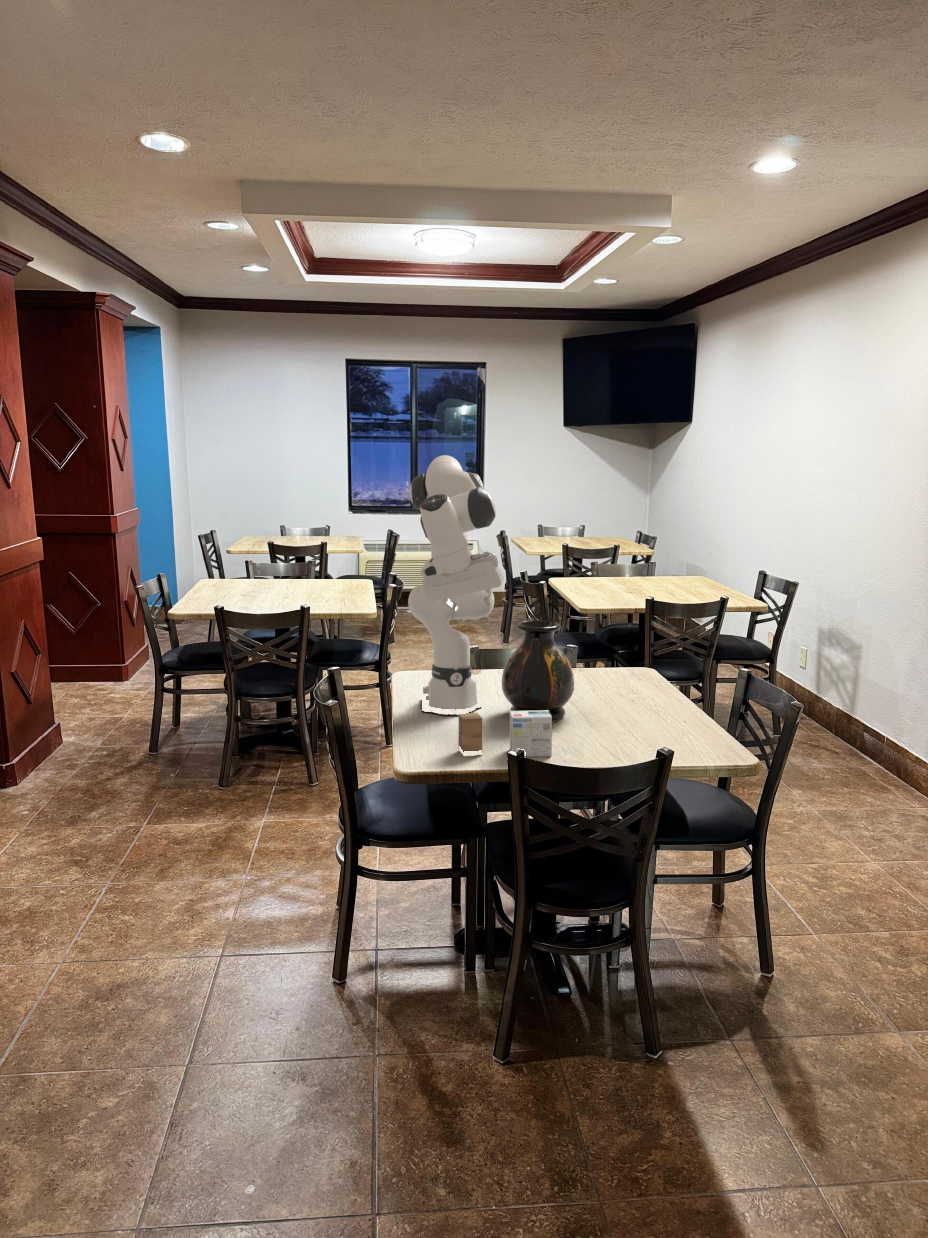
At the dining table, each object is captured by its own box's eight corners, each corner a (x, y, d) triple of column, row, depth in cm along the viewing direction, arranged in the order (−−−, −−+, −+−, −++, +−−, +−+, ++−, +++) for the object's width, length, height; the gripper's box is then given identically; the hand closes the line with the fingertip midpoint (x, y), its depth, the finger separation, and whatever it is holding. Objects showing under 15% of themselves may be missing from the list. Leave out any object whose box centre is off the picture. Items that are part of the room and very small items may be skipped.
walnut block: (458, 751, 221) (458, 714, 219) (477, 749, 222) (477, 712, 220) (463, 757, 216) (463, 719, 214) (482, 755, 217) (482, 718, 215)
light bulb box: (548, 748, 222) (549, 709, 220) (552, 757, 216) (553, 716, 214) (508, 749, 222) (508, 709, 220) (510, 758, 215) (511, 717, 213)
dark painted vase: (570, 729, 239) (572, 631, 234) (495, 724, 243) (496, 629, 238) (576, 708, 260) (578, 618, 255) (507, 704, 264) (507, 616, 259)
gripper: (496, 545, 208) (512, 594, 213) (420, 562, 215) (438, 610, 220) (491, 555, 203) (508, 605, 208) (414, 573, 209) (432, 621, 215)
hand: (472, 608), depth 214 cm, fingers open, 8 cm apart
